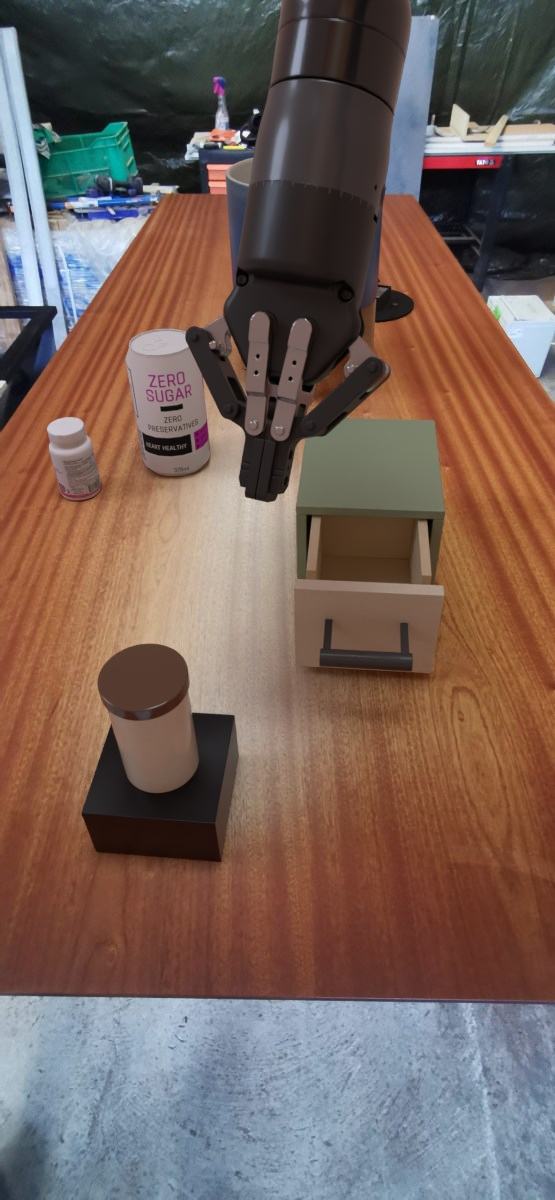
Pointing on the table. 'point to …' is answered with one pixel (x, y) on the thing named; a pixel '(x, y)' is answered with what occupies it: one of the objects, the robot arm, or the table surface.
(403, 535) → the drawer
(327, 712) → the table surface
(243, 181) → the planter
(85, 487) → the pill bottle
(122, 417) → the table surface
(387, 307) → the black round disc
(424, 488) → the cabinet
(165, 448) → the supplement can
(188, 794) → the stand
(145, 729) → the jar
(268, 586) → the table surface
